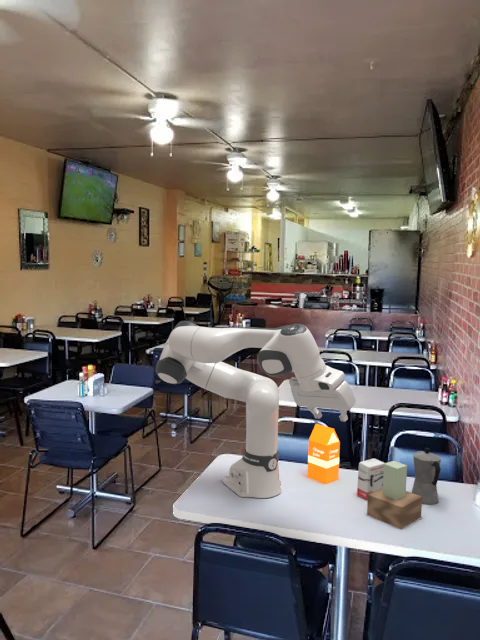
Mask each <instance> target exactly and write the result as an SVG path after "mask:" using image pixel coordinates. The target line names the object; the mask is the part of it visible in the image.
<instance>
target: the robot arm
mask: <svg viewBox="0 0 480 640" xmlns="http://www.w3.org/2000/svg"><path fill="white" fill-rule="evenodd" d="M249 348H256V349H257V348H258V349H260V350H259V352H258V353H257V356H256V360H257V364H258V367H259V369H260V370H261V372H263V373H264V374H265V375H267V376H269V377H271V378H278V377H282V376H286V375H287V374H290V373H294V375H295V376H291V377H290V379H289V380H288V383H289V385H290V392H291V394H292V398H293V401H294V402H295V404H296V405H297V406H298V407H303V408H304V407H306V408H307V410H308V411H309V412H311V414H312V415H313V417H314V419H321V418H322V417H323V414H322V412H321V410H319V409H327V410H329V409H330V410H338V412H339V413H340V415H339V416H338V418H339V421H340V422H346V421H348V419H349V417H348V414H347V413H348V412H347V411H350V410H351V409H352V408H353V407H354V406H355V404H356V401H357V400H356V397H355V395H354V394H355V393H354V392H353V390H352V388H351V385H350V384H349V382H347V381H346V380H345V378H346V374H345V373H344V371H342V370H339V369H336V368H333V367H331V366H329V365H326V363H325V360H324V359H323V358H322V357H321V355H320V349H319V346H318V344H317V342H316V340H315V338H314V336H313V334H312V332H311V331H310V329H309V328H308V327H307V326H306V325H304V324H302V323H293V324H285V325H282V326H279V327H255V326H253V327H251V326H250V327H249V326H248V327H247V326H236V327H234V326H232V327H207V326H199V325H198V324H196V323H194V322H192V321H188V320H181V321H179V322H178V323H177V324H176V325H175V326H174V328H173V329H172V331H171V332H170V334H169V336H168V339H166V342H165V344H164V346H163V349H162V351H161V354H160V356H159V360H157V362H156V365H155V374H156V375H157V377H158V378H159V379H161V381H164V382H166V383H167V384H172V385H178V384H181V383H183V381H184V380H185V379H186V380H188V382H191V383H192V384H194V385H196V386H197V387H200V388H202V389H204V390H206V391H209V392H211V393H214V394H216V395H218V396H220V397H222V398H225V399H230V400H231V399H232V400H236V401H240V402H242V403H243V402H244V403H245V425H246V426H245V427H246V429H245V430H246V434H245V435H246V436H245V448H243V449H240V454H242V457H241V458H240V459H238V460H236V462H234V463H232V464H231V466H230V467H229V471H228V475H226V476H224V477H223V478H222V479H221V482H222V483H223V484H224V485H225V486H227V488H229V489H230V490H231V491H233V492H234V493H235V494H236V495H237V496H238V497H240V498H257V499H267V498H268V499H269V498H274V497H276V496H277V495H280V494H281V492H282V489H281V485H282V481H281V480H280V469H279V463H278V462H279V458H280V456H279V455H280V453H279V450H278V446H279V445H278V443H279V442H278V441H279V438H278V437H279V413H280V412H279V411H280V409H279V408H280V395H279V393H280V392H279V387H278V385H277V383H276V382H275V381H274V380H273V379H271V378H269V377H267V376H263V375H260V374H257V373H254V372H251V371H248V370H245V369H244V370H243V369H241V368H238V367H235V366H234V365H231V364H229V363H225V362H223V361H224V360H226V359H227V358H229V357H231V356H232V355H233V354H236V353H237V352H239V351H241V350H243V349H249Z"/></svg>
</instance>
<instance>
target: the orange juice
mask: <svg viewBox="0 0 480 640" xmlns="http://www.w3.org/2000/svg"><path fill="white" fill-rule="evenodd" d="M340 446H341V441H340V440H339V437H338V435H337V433H336V431H335V428H332V427H329V426H325V425H322V424H320V423H315V424H314V427H313V429H312V432H311V434H310V436H309V438H308V453H307V478H309V479H311V480H313V481H316V482H319V483H321V484H324V485H328V484H330V483H332V482H335V481H338V480H339V474H340V473H339V471H340V449H341V447H340Z"/></svg>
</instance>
